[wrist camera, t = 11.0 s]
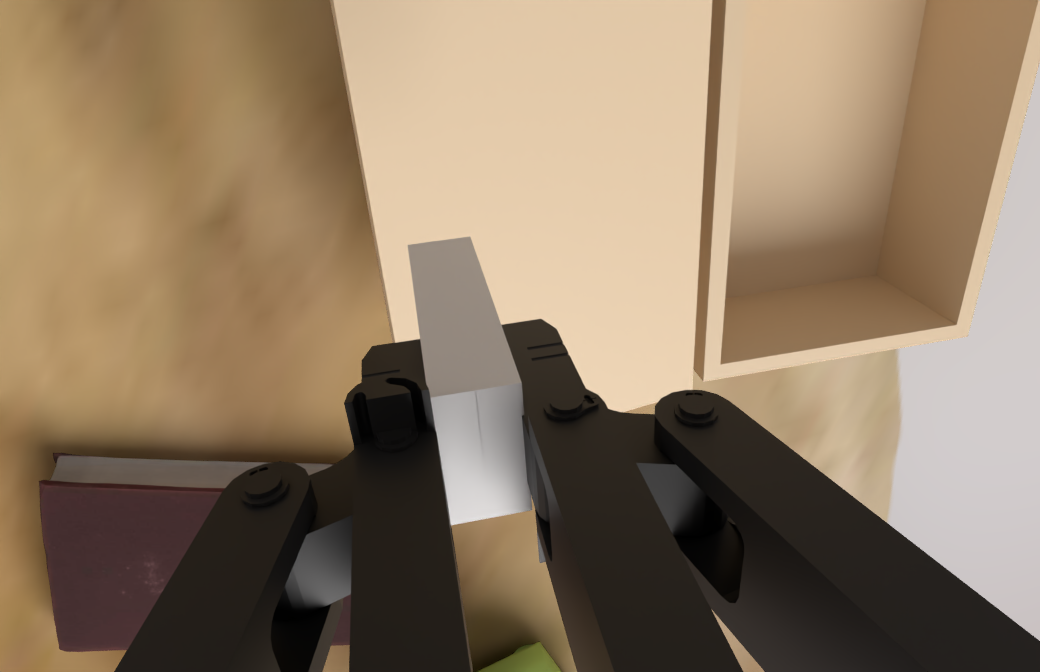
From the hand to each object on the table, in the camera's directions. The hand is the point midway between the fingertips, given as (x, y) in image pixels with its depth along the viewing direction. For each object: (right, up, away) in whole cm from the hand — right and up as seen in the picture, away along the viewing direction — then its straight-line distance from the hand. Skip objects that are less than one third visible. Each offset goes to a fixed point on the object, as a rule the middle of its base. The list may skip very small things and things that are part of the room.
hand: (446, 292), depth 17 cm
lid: (+3, +5, +9) cm, 11 cm away
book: (-14, -13, +25) cm, 32 cm away
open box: (+15, +11, +18) cm, 26 cm away
